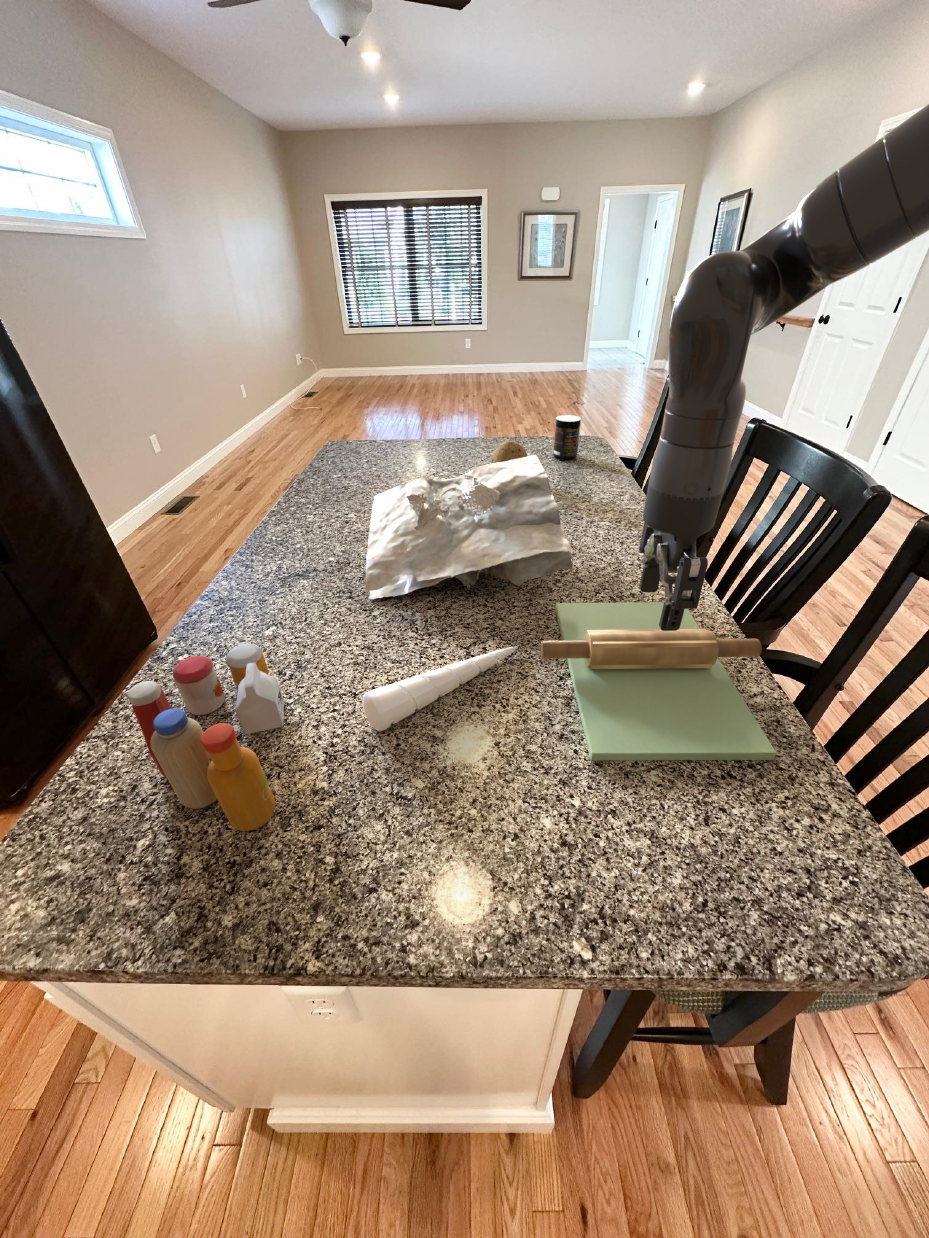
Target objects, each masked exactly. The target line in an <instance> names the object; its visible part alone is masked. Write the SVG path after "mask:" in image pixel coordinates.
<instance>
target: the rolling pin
mask: <svg viewBox="0 0 929 1238" xmlns="http://www.w3.org/2000/svg"><path fill="white" fill-rule="evenodd" d="M762 648H763V647H762V643H761V641H760V639H758V638H717V636H716V634H715V632H713V630H708V629H706V628H700V629H678V630H676V631H662V630H661V629H633V630H587V632H586V634H585V638H584V640H562V639H561V640H557V639H556V640H554V639H553V640H541V641H540V648H539V649H540V658H541V659H542V660H558V659H559V660H563V659H564V660H565V659H566V660H567V659H580V658H585V663H586V665H587V667H590V669H658V668H712V665H714V664H715V662H716V660H717V657H718V658H758V657H760V655H761V654H762V651H763V649H762Z"/></svg>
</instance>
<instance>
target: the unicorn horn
mask: <svg viewBox="0 0 929 1238" xmlns="http://www.w3.org/2000/svg"><path fill="white" fill-rule="evenodd" d="M518 649H519V646H516V645H515V646H509V647H506V648H501V649H497V650H494V651H490V652H487V653H485V654H480V655H478V656H474V657H470V658H468V659H467V658H466V659H465V660H461V661H457V662H454V663H451V664H449V665H445V666H442V667H438V668H435V669H433V670H429V671H426V672H424V673H421V674H418V675H414V676H411V677H408V678H405V679H402V680H399V681H396V682H393V683H391V684H387V685H383V686H381V687H377V688H374V689H371V690H369V691H367V692H365V693H364V694H363V695H362V699H361V702H362V708H363V712H364V715H365V717H366V719H367V721H368V722H369V725H370V726H371V727H372V728H373V729H374V730H375V731H377V732H382V731H385V730H387V729H389V728H390V727H391V726H392V725H391V724H393V725H395V724H397V723H399V722H400V721H402V720H404V719H406V718H407V717H409V716H411V715H413V714H414V713H415V712H416V710H417V711H420V710H421V709H423V708H425V707H427V706H428V705H430V704H432V703H434V702H435V701H437V700H438V699H439V697H440V698H441V697H444V696H445V695H447V694H449V693H451V692H452V691H454V690H456V689H457V688H459V687H460V684H461V685H464V684H466V683H467V682H469V681H471V680H473V679H474V678H476V677H477V676H479V675H480V673H484V672H485V671H487V670H489V669H490V668H492V667H494V666H495V665H496V664H498V662H499V661H500V662H501V661H503V660H504V659H506V658H507V657H510V655H511V654H513V653H514V652H515V651H516V650H518Z"/></svg>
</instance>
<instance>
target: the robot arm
mask: <svg viewBox="0 0 929 1238" xmlns="http://www.w3.org/2000/svg"><path fill="white" fill-rule="evenodd" d="M927 232H929V103H928V104H926V105H925V106H924V107H923V108H921V109H920V110H918V111H916V112H915V113H914V114H912V115H911V116H910V117H908V118H907V119H906V120H904V121H903V122H901V123H900V124H899V125H897V126H896V127H894V128H893V129H892V130H890V131H889V132H888V133H886V134H884V135H883V137H881V138H879V139H878V140H877V141H875V142H873V143H872V144H871V145H869V146H868V147H867V148H865V149H864V150H863V151H861V152H860V153H859V154H857V155H856V156H854V157H853V158H852V159H850V160H849V161H848V162H846V163H845V164H844V165H842V166H841V167H839V168H838V170H835V171H833V172H832V173H831V174H829V175H828V176H827V177H826V178H824V179H823V180H822V181H820V183H818V184H817V185H816V186H815V187H813V188H812V189H811V190H810V191H809V192H808V193H807V194H805V196H804V197H803V198H802V199H801V201H800V202H799V203H798V205H797V207H796V210H795V211H793V212H792V213H791V214H790V215H788V216H786V217H785V218H784V219H782V220H781V221H780V222H779V223H777V224H776V225H775V226H773V227H772V228H770V229H769V230H768V231H766V232H765V233H763V234H762V235H761V236H759V237H758V238H756V239H755V240H754V241H752V242H751V243H749V244H747V245H746V246H744V247H742V248H741V249H740V250H739V249H738V250H728V251H727V250H726V251H721V252H717V253H714V254H711V255H709V256H707V257H706V258H704V259H702V260H701V261H700V262H697V264H696V265H695V266H694V267H693V268H692V269H691V270H690V271H689V273H688V274H687V275H686V277H685V278H684V280H683V282H682V283H681V285H680V287H679V289H678V291H677V294H676V297H675V300H674V303H673V308H672V311H671V317H670V324H669V331H668V332H669V333H668V335H669V336H668V368H667V369H668V385H669V386H668V387H669V388H668V396H667V399H666V404H665V408H664V413H663V419H662V425H661V430H660V434H659V439H658V443H657V446H656V449H655V452H654V455H653V459H652V463H651V469H650V475H649V480H648V486H647V490H646V495H645V501H644V506H643V512H642V519H643V521H644V523H643V527H642V532H641V537H640V542H639V547H638V552H639V554H642V556H641V563H642V565H643V567H642V571H641V575H640V576H641V577H640V583H639V586H638V587H639V590H640V592H641V593H643V594H644V593H645V594H646V593H656V592H657V591H658V590H659V587H660V584H661V585H662V586H663V587H664V601H663V602H664V605H663V609H662V613H661V618H660V622H659V626H660V628H661V630H662V631H676V630H678V629H679V628H680V625H681V621H682V617H683V613H684V610H685V609H688V610H694V609H695V610H697V608H699V607H698V606H699V603H700V598H701V595H702V590H703V587H704V581H705V579H706V573H707V570H708V566H709V560H708V558H707V557H706V556H705V557H704V556H703V557H697V539H698V538H699V537H701V536H702V535H705V534H706V533H708V532H710V531H711V530H713V528H714V527H715V525H716V521H717V518H718V514H719V510H720V507H721V503H722V500H723V495H724V492H725V488H726V484H727V482H728V477H729V473H730V469H731V465H732V459H733V452H734V451H733V450H734V446H735V445H734V444H735V441H736V438H737V433H738V431H739V426H740V423H741V419H742V415H743V412H744V406H745V402H746V398H747V397H746V395H747V386H746V383H745V381H744V380H743V379H742V376H743V371H744V367H745V362H746V358H747V352H748V348H749V344H750V340H751V336H753V335H755V334H757V333H758V332H760V331H762V330H763V329H765V328H767V327H768V326H769V325H772V324H773V323H775V322H776V321H778V320H779V319H781V318H782V317H784V316H786V315H787V314H789V313H791V312H792V311H793V310H795V309H796V308H798V307H800V306H801V305H803V304H804V303H806V302H807V301H809V300H810V299H812V298H813V297H814V296H816V295H817V294H818V293H820V292H821V291H823V290H824V289H826V288H827V287H828V286H830V285H832V284H834V283H838V282H839V281H841V280H843V279H845V278H847V277H850V276H852V275H854V274H855V273H857V272H859V271H861V270H863V269H865V268H867V267H868V266H870V264H874V263H876V262H877V261H878V260H881V259H883V258H884V257H886V256H888V255H889V254H892V253H893V252H894V251H896V250H898V249H899V248H902V247H903V246H905V245H907V244H908V243H910V242H911V241H914V240H916V238H918V237H920V236H922V235H923V234H925V233H927ZM669 573H670V574H672V573H673V574H676V576H671V575H670V574H669ZM673 586H674V587H673Z"/></svg>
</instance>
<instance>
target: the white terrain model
mask: <svg viewBox="0 0 929 1238" xmlns="http://www.w3.org/2000/svg"><path fill="white" fill-rule="evenodd" d="M371 509H372V510H371V514H370V515H371V516H370V521H369V522H370V523H369V527H368V528H369V530H368V539H367V540H368V542H367V547H366V548H367V549H366V557H365V558H366V560H365V592H366V593H367V592H369V596H367V599H368V600H375V599H383V598H389V597H393V598H394V597H396V596H397V597H398V596H399V597H400V596H404V595H407V594H408V595H409V593H411V594H412V592H413V591H415V590H419V589H422V588H430V587H432V586H436V585H438V584H440V582H441V581H444V580H446V579H448V578H453V577H455V579H457V580H459V581H461V583H462V585H463V586H464V587H466V588H467V589H470V588H471V587H472V586H474V585H475V584H476V583H477V581H478V580H479V577H480V575H479V574H482V573H485V574H490V575H492V576H494V577H497V578H499V579H501V580H505V581H509V582H511V583H512V584H514V585H515V586H518V587H520V586H521V585H522V584H523V583H524V582H526V581H529V580H533V579H537V578H542V577H545V576H549V575H550V576H551V575H553V574H554V573H556V572H557V571H560V570H573V563H572V555H571V553H570V552H571V551H573V546H572V545H571V544H570V539H568V537H569V536H568V535H567V534H566V531H565V529H564V525H563V523H562V522H561V521H562V520H561V516H560V511H559V507H558V504H557V502H556V499H555V497H554V495H553V493H552V489H551V485H550V480H549V477H548V474H547V472H546V469H545V468H544V467H543V465H542V463H541V461H540V459H539V457H538V456H537V454H533V455H527V457H523V458H518V459H512V460H509V461H505V462H497V463H492V464H491V463H487V464H482V465H479V466H478V467H475V468H473V469H470V470H469V471H468V472H467V471H466V473H464V474H461V475H459V476H455V477H452V478H447V479H432V478H430V477H424V476H423V477H419V478H415V479H413V480H411V481H409V482H407V483H403V484H400V485H397V486H394V487H393V488H389V489H388V490H386V491H383V492H379V493H377V494H375V495H374V496H373V503H372V508H371Z"/></svg>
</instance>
